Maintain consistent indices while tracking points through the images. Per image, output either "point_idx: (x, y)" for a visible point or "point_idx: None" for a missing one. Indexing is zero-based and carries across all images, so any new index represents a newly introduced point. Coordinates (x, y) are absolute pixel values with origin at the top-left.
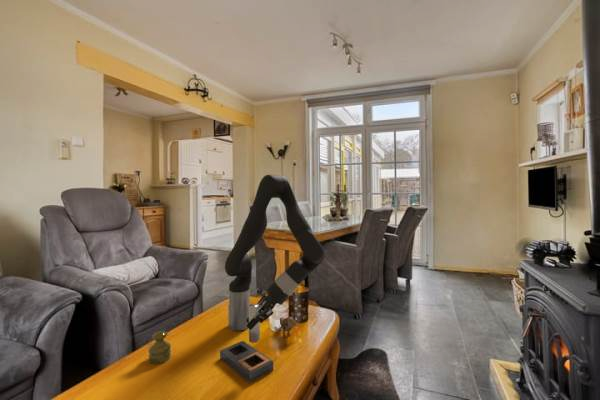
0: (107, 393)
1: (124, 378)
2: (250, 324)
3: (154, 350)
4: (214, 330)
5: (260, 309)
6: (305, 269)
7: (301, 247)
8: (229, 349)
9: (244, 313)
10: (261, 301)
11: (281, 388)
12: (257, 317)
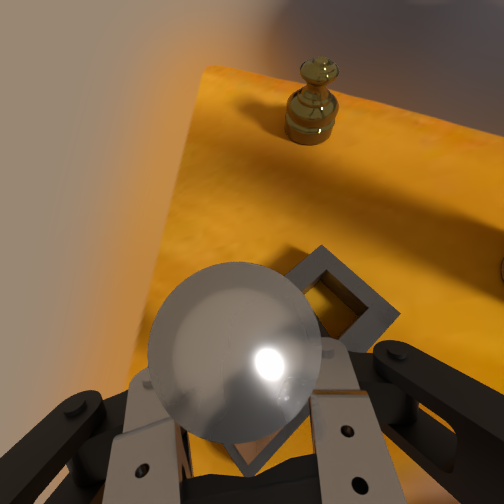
0: (198, 98)
1: (239, 102)
2: None
3: (291, 97)
4: (478, 207)
5: (113, 477)
6: None
7: None
8: (331, 273)
9: None
10: (373, 499)
11: None
12: (45, 419)
